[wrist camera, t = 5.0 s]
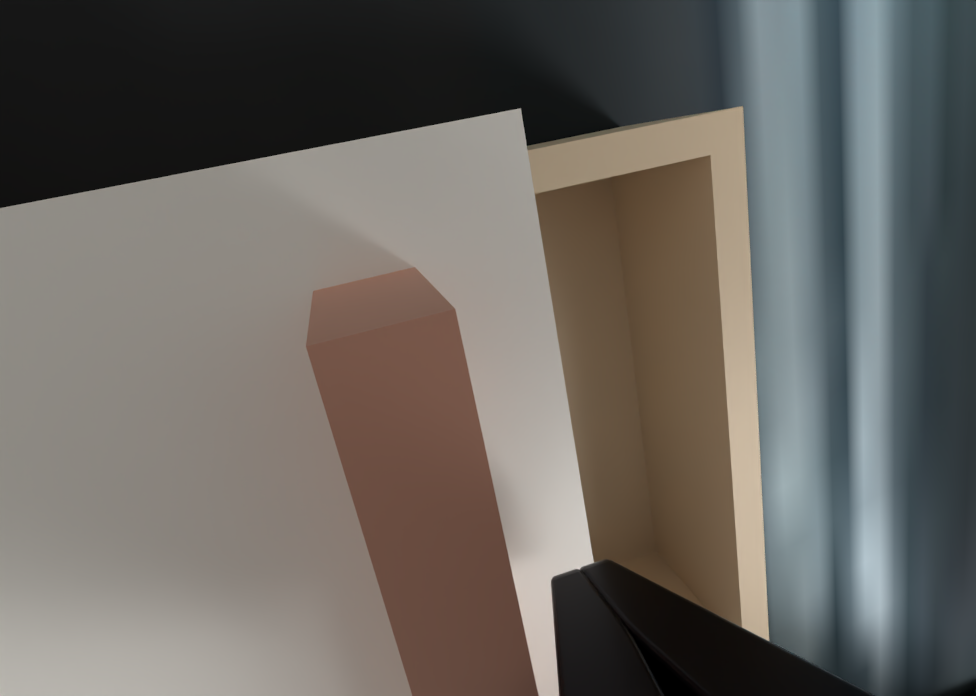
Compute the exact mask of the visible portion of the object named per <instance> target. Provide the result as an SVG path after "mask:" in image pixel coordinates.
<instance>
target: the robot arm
mask: <svg viewBox="0 0 976 696" xmlns="http://www.w3.org/2000/svg"><path fill="white" fill-rule="evenodd" d="M551 593H552V607H553V620H554V634H555V647H556V660H557V674H558V687H559V696H875V695H873V694H871V693H869V692H867V691H865V690H863V689H861V688H859V687H857V686H855V685H853V684H851V683H849V682H847V681H845V680H843V679H842V678H840V677H838V676H836V675H834V674H832V673H830V672H828V671H826V670H824V669H822V668H820V667H818V666H816V665H814V664H812V663H810V662H808V661H807V660H805V659H803V658H801V657H799V656H797V655H795V654H793V653H791V652H789V651H787V650H785V649H783V648H781V647H779V646H777V645H775V644H773V643H772V642H770V641H768V640H766V639H764V638H762V637H760V636H758V635H756V634H754V633H752V632H750V631H748V630H746V629H744V628H742V627H740V626H738V625H737V624H735V623H733V622H731V621H729V620H727V619H725V618H723V617H721V616H719V615H717V614H715V613H713V612H711V611H709V610H707V609H705V608H703V607H702V606H700V605H698V604H696V603H694V602H692V601H690V600H688V599H686V598H684V597H682V596H680V595H678V594H676V593H674V592H672V591H670V590H668V589H667V588H665V587H663V586H661V585H659V584H657V583H655V582H653V581H651V580H649V579H647V578H645V577H643V576H641V575H639V574H637V573H635V572H633V571H632V570H630V569H628V568H626V567H624V566H622V565H620V564H618V563H616V562H614V561H612V560H609V559H603V560H600V561H597V562H594V563H591V564H588V565H585V566H583V567H581V568H580V570H579V569H574V570H571V571H568V572H565V573H562V574H559V575H556V576H554V577H553V578H552V579H551ZM971 696H976V694H974V695H971Z"/></svg>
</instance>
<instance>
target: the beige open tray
mask: <svg viewBox="0 0 976 696" xmlns="http://www.w3.org/2000/svg"><path fill="white" fill-rule="evenodd" d="M527 150H528V156H529V162H530V169H531V175H532V181H533V187H534V194H535V200H536V206H537V212H538V218H539V225H540V231H541V237H542V243H543V250H544V256H545V262H546V268H547V274H548V281H549V287H550V293H551V299H552V306H553V312H554V318H555V324H556V330H557V337H558V343H559V349H560V355H561V362H562V368H563V374H564V380H565V386H566V393H567V399H568V405H569V411H570V418H571V424H572V430H573V436H574V442H575V449H576V455H577V461H578V467H579V474H580V480H581V486H582V492H583V499H584V505H585V511H586V517H587V523H588V530H589V536H590V542H591V548H592V555H593V561H594V562H597V561H600V560H603V559H609V560H612V561H614V562H616V563H618V564H620V565H622V566H624V567H626V568H628V569H630V570H632V571H633V572H635V573H637V574H639V575H641V576H643V577H645V578H647V579H649V580H651V581H653V582H655V583H657V584H659V585H661V586H663V587H665V588H667V589H668V590H670V591H672V592H674V593H676V594H678V595H680V596H682V597H684V598H686V599H688V600H690V601H692V602H694V603H696V604H698V605H700V606H702V607H703V608H705V609H707V610H709V611H711V612H713V613H715V614H717V615H719V616H721V617H723V618H725V619H727V620H729V621H731V622H733V623H735V624H737V625H738V626H740V627H742V628H744V629H746V630H748V631H750V632H752V633H754V634H756V635H758V636H760V637H762V638H764V639H766V640H768V641H769V627H768V606H767V586H766V566H765V545H764V525H763V504H762V484H761V464H760V443H759V423H758V403H757V382H756V362H755V342H754V321H753V301H752V280H751V260H750V240H749V219H748V199H747V179H746V158H745V138H744V117H743V106H741V107H735V108H729V109H723V110H717V111H711V112H705V113H700V114H694V115H688V116H682V117H676V118H670V119H664V120H658V121H652V122H646V123H640V124H634V125H628V126H623V127H617V128H613V129H608V130H603V131H598V132H593V133H588V134H583V135H578V136H573V137H569V138H564V139H559V140H554V141H549V142H544V143H539V144H534V145H529V146H527Z"/></svg>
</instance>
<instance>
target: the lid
mask: <svg viewBox="0 0 976 696" xmlns="http://www.w3.org/2000/svg"><path fill="white" fill-rule="evenodd" d="M591 563H594V561H593V555H592V548H591V542H590V536H589V530H588V523H587V517H586V511H585V505H584V499H583V492H582V486H581V480H580V474H579V467H578V461H577V455H576V449H575V442H574V436H573V430H572V424H571V418H570V411H569V405H568V399H567V393H566V386H565V380H564V374H563V368H562V362H561V355H560V349H559V343H558V337H557V330H556V324H555V318H554V312H553V306H552V299H551V293H550V287H549V281H548V274H547V268H546V262H545V256H544V250H543V243H542V237H541V231H540V225H539V218H538V212H537V206H536V200H535V194H534V187H533V181H532V175H531V169H530V162H529V156H528V150H527V144H526V137H525V131H524V125H523V119H522V113H521V108H520V109H514V110H509V111H504V112H499V113H493V114H488V115H483V116H478V117H473V118H467V119H462V120H457V121H452V122H447V123H441V124H436V125H431V126H426V127H421V128H415V129H410V130H405V131H400V132H394V133H389V134H384V135H379V136H374V137H368V138H363V139H358V140H353V141H348V142H342V143H337V144H332V145H327V146H322V147H316V148H311V149H306V150H301V151H295V152H290V153H285V154H280V155H275V156H269V157H264V158H259V159H254V160H249V161H243V162H238V163H233V164H228V165H223V166H217V167H212V168H207V169H202V170H196V171H191V172H186V173H181V174H176V175H170V176H165V177H160V178H155V179H150V180H144V181H139V182H134V183H129V184H124V185H118V186H113V187H108V188H103V189H97V190H92V191H87V192H82V193H77V194H71V195H66V196H61V197H56V198H51V199H45V200H40V201H35V202H30V203H24V204H19V205H14V206H9V207H4V208H0V696H559V687H558V674H557V660H556V647H555V634H554V620H553V607H552V593H551V579H552V578H553V577H554V576H556V575H559V574H562V573H565V572H568V571H571V570H574V569H579V570H580V568H581V567H583V566H585V565H588V564H591Z"/></svg>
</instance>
